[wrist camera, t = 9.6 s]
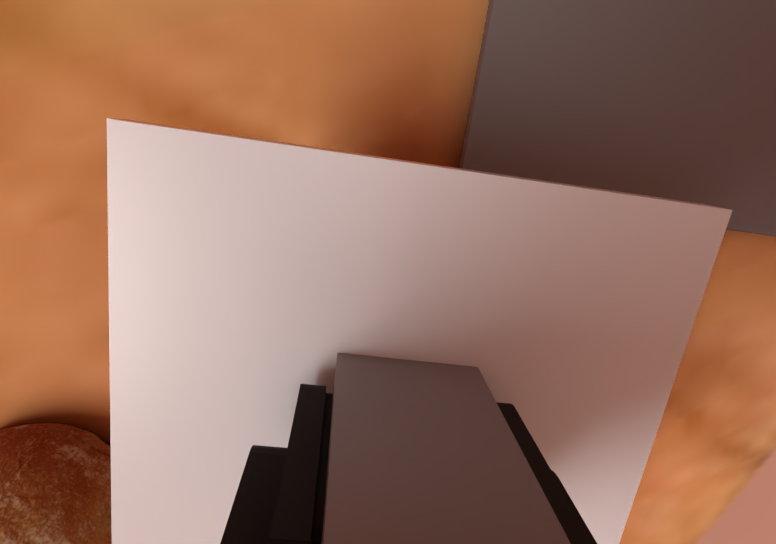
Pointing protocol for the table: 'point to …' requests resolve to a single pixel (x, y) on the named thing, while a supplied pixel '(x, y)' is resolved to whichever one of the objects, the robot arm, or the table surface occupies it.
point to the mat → (632, 100)
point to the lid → (386, 335)
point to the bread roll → (54, 485)
